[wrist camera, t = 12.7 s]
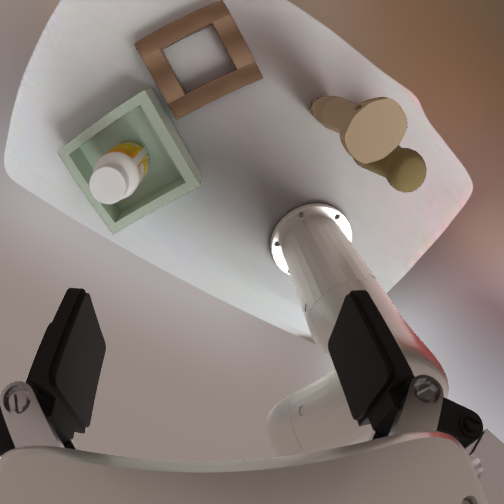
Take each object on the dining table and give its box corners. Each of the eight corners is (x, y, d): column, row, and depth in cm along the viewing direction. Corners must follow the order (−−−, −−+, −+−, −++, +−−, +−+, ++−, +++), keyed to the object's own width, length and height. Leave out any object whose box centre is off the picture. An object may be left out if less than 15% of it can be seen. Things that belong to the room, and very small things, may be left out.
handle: (290, 110, 35) (334, 132, 22) (326, 79, 33) (388, 87, 20) (314, 137, 37) (365, 174, 25) (349, 106, 35) (415, 130, 23)
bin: (201, 174, 38) (200, 186, 34) (121, 218, 40) (113, 234, 36) (152, 88, 31) (144, 89, 27) (71, 143, 33) (57, 152, 29)
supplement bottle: (159, 165, 36) (143, 194, 28) (125, 186, 37) (103, 220, 29) (136, 130, 33) (112, 149, 25) (103, 154, 34) (73, 179, 26)
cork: (384, 170, 41) (427, 201, 31) (348, 167, 40) (386, 198, 31) (391, 131, 37) (438, 153, 28) (354, 125, 37) (397, 146, 27)
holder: (260, 78, 32) (263, 78, 31) (178, 117, 34) (176, 119, 32) (221, 3, 26) (222, -1, 25) (137, 45, 28) (133, 43, 26)
